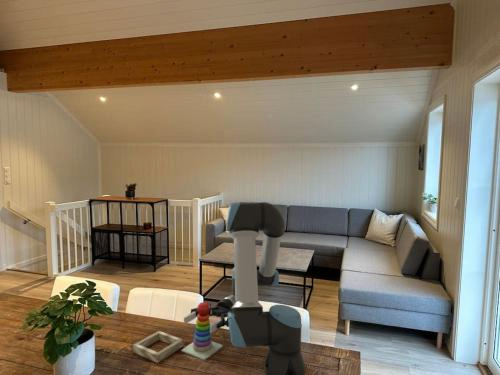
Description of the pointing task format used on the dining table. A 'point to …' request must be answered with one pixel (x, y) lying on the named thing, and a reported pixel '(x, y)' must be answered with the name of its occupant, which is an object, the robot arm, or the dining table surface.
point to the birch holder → (158, 356)
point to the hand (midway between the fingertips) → (197, 324)
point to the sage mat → (202, 354)
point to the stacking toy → (202, 329)
